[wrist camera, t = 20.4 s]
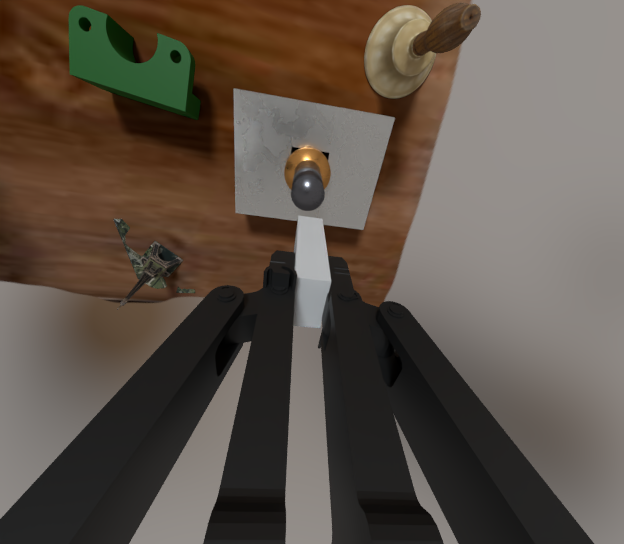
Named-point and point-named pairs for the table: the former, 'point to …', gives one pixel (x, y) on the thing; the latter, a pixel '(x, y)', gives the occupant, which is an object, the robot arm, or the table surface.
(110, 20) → the clamp
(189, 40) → the table surface
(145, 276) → the eiffel tower figurine
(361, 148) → the hole block
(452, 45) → the hand bell
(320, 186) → the pin
